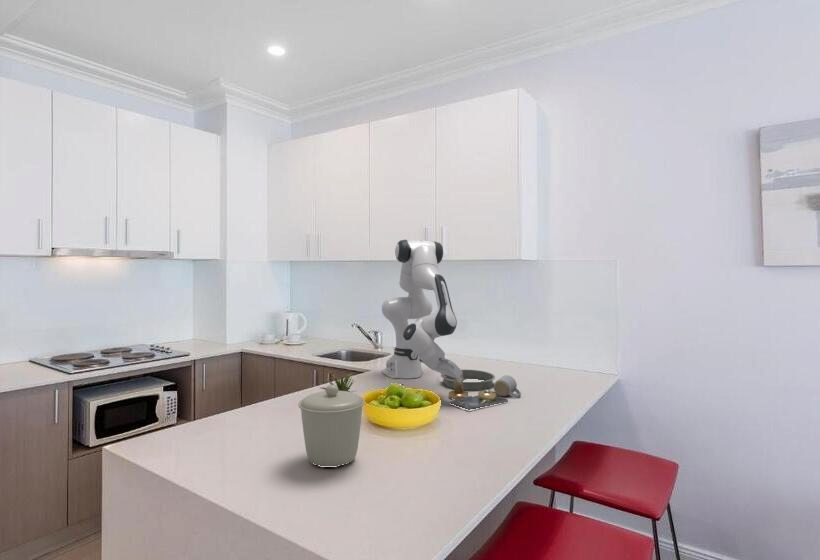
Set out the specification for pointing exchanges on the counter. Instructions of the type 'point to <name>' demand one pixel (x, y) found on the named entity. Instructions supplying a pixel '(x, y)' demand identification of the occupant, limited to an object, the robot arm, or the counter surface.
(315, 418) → the canister
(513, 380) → the ceramic mug
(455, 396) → the brass joystick knob
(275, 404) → the counter surface
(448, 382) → the cake pan
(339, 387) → the house plant
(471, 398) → the carrier plate
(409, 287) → the robot arm
